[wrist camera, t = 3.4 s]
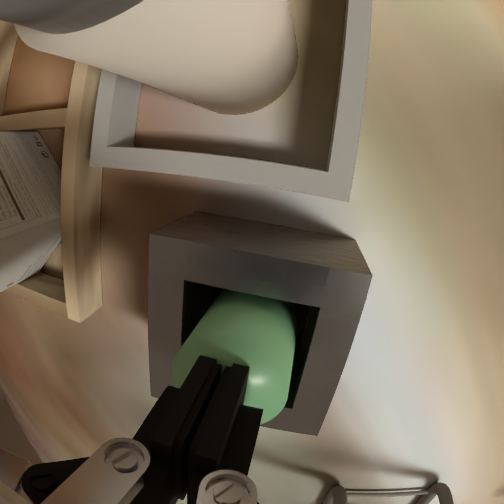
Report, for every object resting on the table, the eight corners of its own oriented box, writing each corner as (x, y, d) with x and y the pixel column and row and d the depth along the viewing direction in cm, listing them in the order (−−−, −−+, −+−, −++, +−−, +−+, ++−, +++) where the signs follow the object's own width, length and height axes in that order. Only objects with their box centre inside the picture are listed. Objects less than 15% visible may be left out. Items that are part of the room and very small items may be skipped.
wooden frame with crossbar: (24, -4, 14) (4, -11, 12) (145, -46, 12) (126, -64, 10) (-2, 267, 21) (-23, 276, 18) (102, 305, 19) (80, 322, 17)
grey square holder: (195, 211, 16) (149, 233, 12) (355, 239, 15) (372, 275, 10) (186, 344, 19) (151, 395, 14) (319, 373, 18) (317, 435, 13)
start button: (222, 263, 15) (171, 322, 10) (306, 279, 15) (300, 351, 9) (215, 334, 17) (171, 410, 11) (290, 351, 16) (276, 436, 10)
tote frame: (152, -26, 13) (132, -44, 10) (367, -22, 11) (373, -46, 9) (116, 163, 16) (89, 166, 14) (343, 195, 15) (348, 201, 12)
